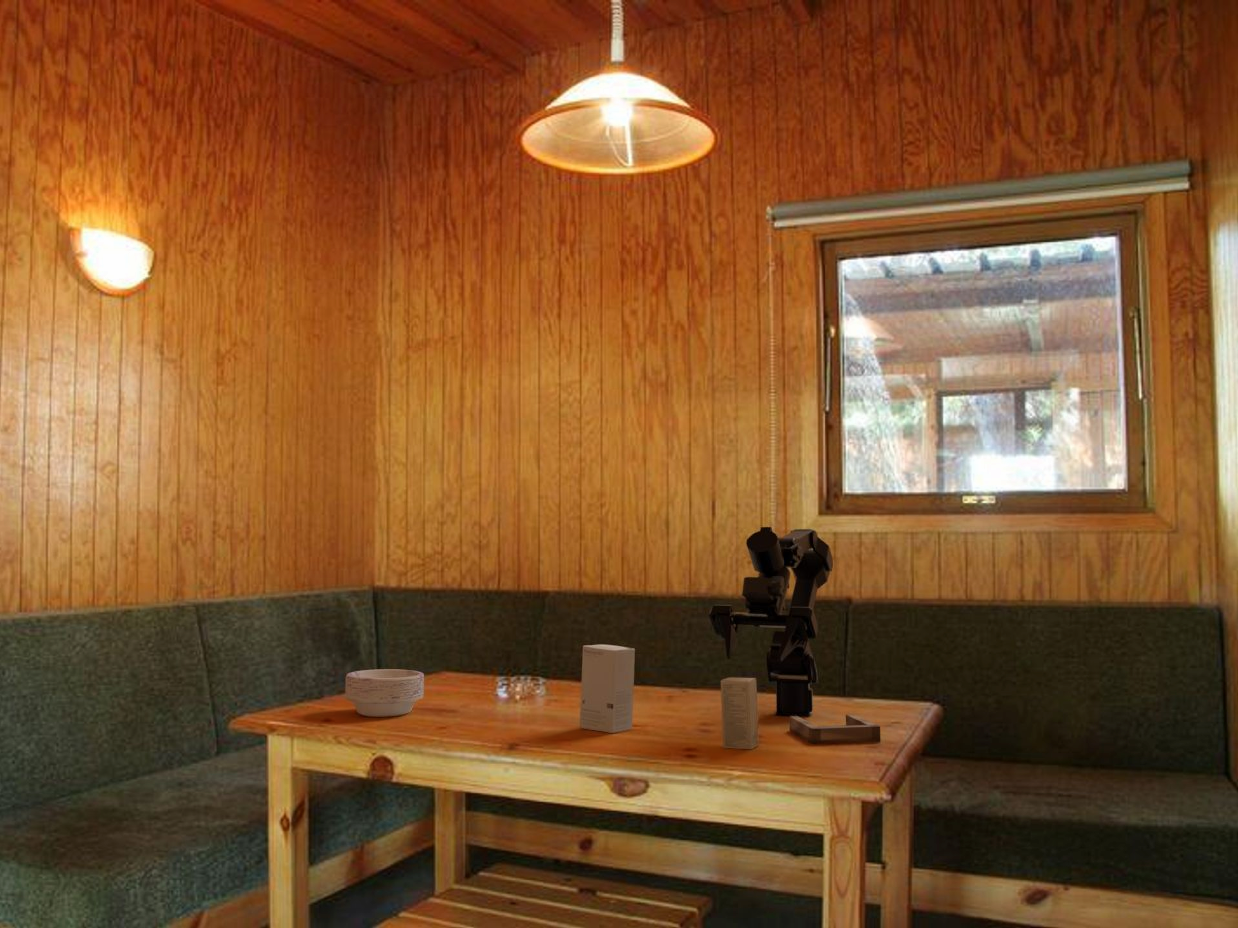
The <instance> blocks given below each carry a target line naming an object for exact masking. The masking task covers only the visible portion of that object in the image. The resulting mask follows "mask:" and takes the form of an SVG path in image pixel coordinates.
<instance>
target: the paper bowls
mask: <svg viewBox="0 0 1238 928" xmlns="http://www.w3.org/2000/svg"><path fill="white" fill-rule="evenodd" d="M344 691H345V693H344V695H345V696H344V697H345V699H346V700H347V701H348V702H352V703H353V704H354V707H355V710H356V712H357V713H358V714H359V715H360V716H361V715H362V716H365V717H372V718H388V717H389V718H390V717H397V716H403V715H406V714H408V713H410V712H411V711H412V709H413V707H414V705H415V703H416V702H417V701H418V700H421V699H423V698H424V692H425V674H424V673H423V672H421V671H418V670H412V669H411V670H408V669H393V668H391V669H389V668H386V669H385V668H384V669H382V668H381V669H364V670H357V671H356V670H355V671H352V672H348V673H347V674H346V675H345V687H344Z"/></svg>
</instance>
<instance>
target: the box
mask: <svg viewBox="0 0 1238 928" xmlns="http://www.w3.org/2000/svg"><path fill="white" fill-rule="evenodd" d="M757 688H758V687H757V678H756V677H733V676H732V677H726V678H723V679H721V680H720V693H721V694H720V697H721V699H720V700H721V701H720V702H721V725H722V727H721V728H722V729H721V730H722V731H721V732H722V748H723V749H739V750H753V749H754V748H756V747H757V746H759V744H760V742H759V741H760V739H759V719H758V718H759V717H758V693H757V691H758V689H757Z"/></svg>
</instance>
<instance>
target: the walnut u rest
mask: <svg viewBox="0 0 1238 928" xmlns="http://www.w3.org/2000/svg"><path fill="white" fill-rule="evenodd" d="M788 716H789V717H788V718H789V719H788V720H789V731H790V732H791V733H793V734H795V735H796V736H798V737H800V738H801V739H803V740H805V741H806V742H808V743H810V744H812V745H816V744H817V745H818V744H819V745H820V744H824V745H825V744H844V743H845V744H846V743H874V742H873V741H878V742H882V741H881V726H880V725H878V724H877V723H874V722H872V721H869V720H867V719H865V718H863V717H861V716H859V715H857V714H854V713H850V714H849V713H848V714H847V713H846V714H845V725H844V724H843V725H842V724H841V725H838V724H837V725H815V724H813V723H811V722H809V721H808V720H805V719H803V718H802V717H801V716H793V715H788ZM871 741H872V742H871Z"/></svg>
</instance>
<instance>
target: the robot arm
mask: <svg viewBox="0 0 1238 928" xmlns="http://www.w3.org/2000/svg"><path fill="white" fill-rule="evenodd" d="M745 544H746V547H747V551H748V554H749V558H750V560H751V564H752V567H753V570H754V572H758V575H757V577H756V576H747V577H744V578H743V584H742V592H741V595H742V597H743V598H745V603H744V606H745V609H746V610H748V612H738V611H737V612H736V610H735V607H734V605H733V604H713V605H712V606H711V607H710V609H709V613H708V617H709V619H710V622H711V624H712V627H713V631H714V634H716V635H718V636H720V637H721V638H722V639H724V643H725V652H726V653H725V654H726V657H727V659H728V660H730V659H731V658H732V656H733V655H734V650H735V647H736V643H737V640H738V635H737V634H738V631H739V626H740V625H741V626H742V625H743V626H754V627H758V628H759V627H760V628H775V629H776V628H780V629H781V628H782V629H783V630H776V631H774V633H773V635H772V640H771V644H770V646H769V647H770V648H769V650H767V652H766V658H765V659H766V662H765V663H766V668H767V669H766V670H767V678H768V682H770V683H772V682H775V696H776V697H775V701H776V702H775V704H776V705H775V706H776V707H775V709H776V710H775V712H774V713H775V715H776V716H798V717H801V716H802V717H804V716H805V717H808V716H809V717H810V715H811V713H812V712H813V710H814V705H813V704H814V703H813V702H814V700H813V693H814V692H813V688H812V687H810V685H812V684H817V683H818V679H819V678H818V669H817V665H816V660H815V658H814V655H813V652H812V649H811V646H810V642H809V640H811V639H812V640H814V639H815V638H817V636H818V635H817V634H818V631H819V627H818V626H819V625H818V622H817V617H816V613H815V611H814V606H815V603H816V600H817V599H816V598H817V593H818V590H819V589H820V588H821V587H823V585H825V584H826V583H828V579H829V576H830V574H831V572H833V570H834V558H833V554H832V551H831V548H830V546H829V544H828V543H826V542H825V541H824V540H823V539H821V538H820V537H819V536H818V532H817V531H816V530H815V529H812V528H798V529H797V528H794V529H793V530H790V532H789V533H787V534H785V535H784V536H782V537H778V535H777V534H776V533H775V532H773V528H772V526H761V527H760V530H759V531H755V532H754V533H752V534H751V535H750V536H749V537H748V538H747V539H746V541H745ZM789 568H790V569H791V571H792V574H793V578H794V587H793V591H792V596H791V599H790V604H789V609H788V612H787V615H786V614H782V612H783V611H785V610H786V603H785V601H786V600H785V599H786V595H787V590H789V589H790V579H791V572H790V570H789Z"/></svg>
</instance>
